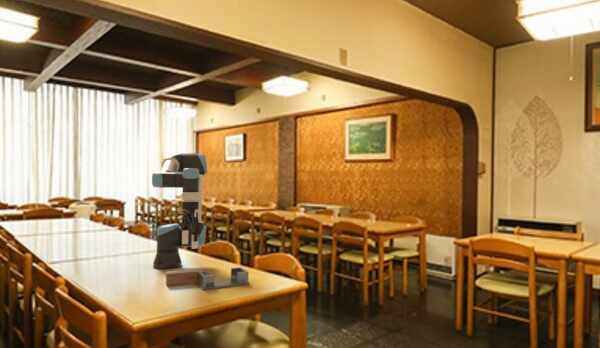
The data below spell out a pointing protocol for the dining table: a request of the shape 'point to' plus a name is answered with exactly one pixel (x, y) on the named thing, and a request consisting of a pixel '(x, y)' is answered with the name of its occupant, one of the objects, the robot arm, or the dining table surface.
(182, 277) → the brown wooden block
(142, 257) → the dining table surface
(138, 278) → the dining table surface
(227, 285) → the bracket
